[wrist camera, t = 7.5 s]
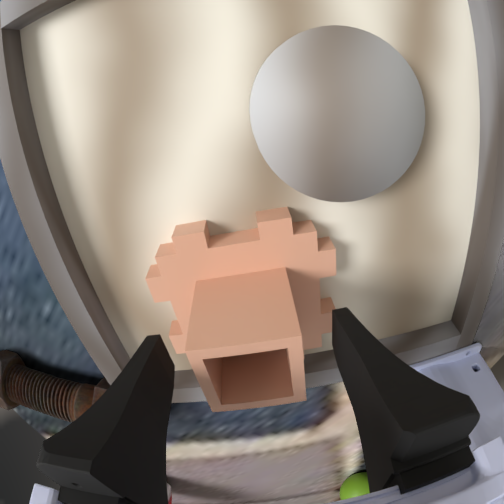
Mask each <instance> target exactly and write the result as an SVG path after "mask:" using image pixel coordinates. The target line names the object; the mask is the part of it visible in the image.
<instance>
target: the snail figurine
mask: <svg viewBox="0 0 504 504" xmlns="http://www.w3.org/2000/svg"><path fill="white" fill-rule="evenodd" d="M369 493H370V491H369V484H368V477H367V473H366V472H361V473H356V474H353V475H351V476H350V477H348V478H347V479H346V480H345V481H344V482H343V484H342V486H341V489H340V498H341V500H345V499H349V498H353V497H357V496H361V495H365V494H369Z"/></svg>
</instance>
